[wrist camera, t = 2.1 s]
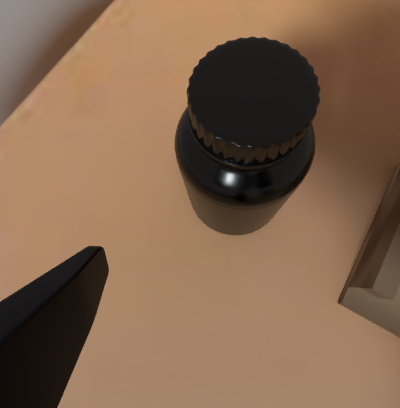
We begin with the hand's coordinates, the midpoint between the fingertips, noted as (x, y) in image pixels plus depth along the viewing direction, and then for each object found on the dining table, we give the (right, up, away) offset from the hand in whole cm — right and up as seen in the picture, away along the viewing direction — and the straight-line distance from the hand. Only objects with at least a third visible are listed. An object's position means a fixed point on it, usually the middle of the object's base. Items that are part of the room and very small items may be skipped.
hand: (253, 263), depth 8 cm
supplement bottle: (+1, +3, +13) cm, 14 cm away
